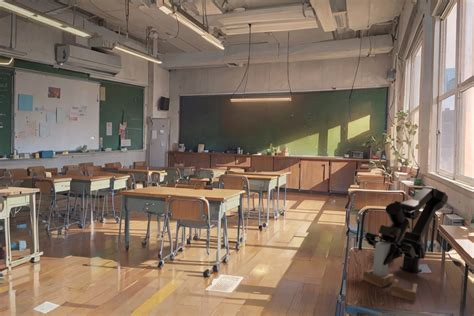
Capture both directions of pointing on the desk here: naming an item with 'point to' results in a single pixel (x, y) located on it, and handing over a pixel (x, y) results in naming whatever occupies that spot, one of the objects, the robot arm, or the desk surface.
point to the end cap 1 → (377, 278)
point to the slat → (380, 259)
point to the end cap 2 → (403, 291)
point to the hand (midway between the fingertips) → (379, 262)
